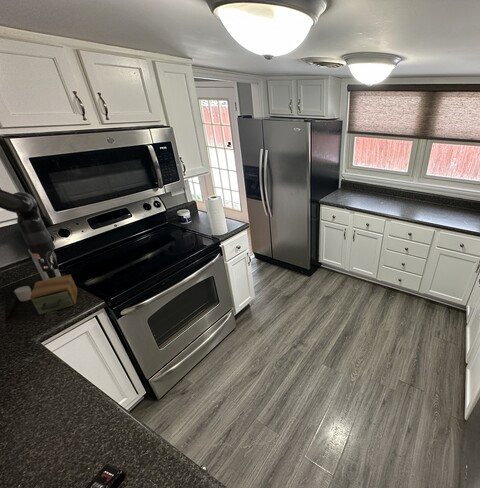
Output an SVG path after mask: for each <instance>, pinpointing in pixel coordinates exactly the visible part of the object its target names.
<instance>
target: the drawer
mask: <svg viewBox="0 0 480 488" xmlns="http://www.w3.org/2000/svg"><path fill="white" fill-rule="evenodd" d="M31 302H32V304H33V307H35V309H36V311H37V313H38V314H39V315H43V314H47V313H50V312H55V311H59V310H62V309H66V308H68V307H73V306H74V305H73V303H72V301H71V299H70V296H69V294H68V292H67V290H63V291H59V292H55V293H51V294H47V295H43V296H39V297H36V299H33V300H31Z"/></svg>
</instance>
